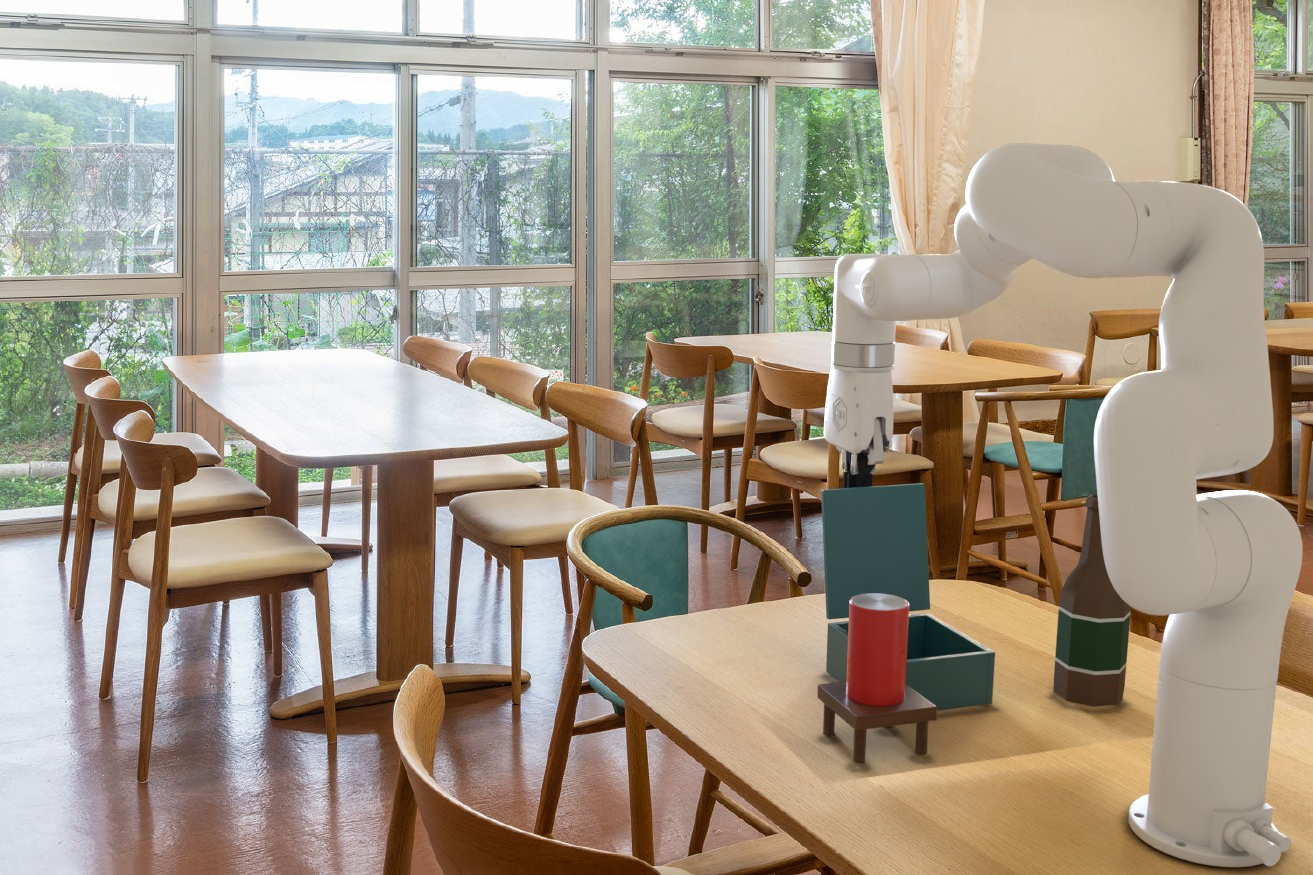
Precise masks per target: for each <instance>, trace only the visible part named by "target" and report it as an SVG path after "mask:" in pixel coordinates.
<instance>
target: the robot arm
mask: <svg viewBox="0 0 1313 875" xmlns="http://www.w3.org/2000/svg"><path fill="white" fill-rule="evenodd" d="M953 231H954V239H955V243H956V246H957V250H955V251H953V252H950V253H946V254H945V253H943V254H942V253H930V254H929V253H927V254H926V253H925V254H923V253H922V254H885V253H847V254H844V255H841V256H840V257H839V258H838V259H837V260H836V263H835V267H834V282H833V283H834V285H833V286H834V287H833V309H832V310H833V312H832V314H833V315H832V338H831V339H832V341H831V345H832V346H831V364H830V367H831V368H830V371H829V377H828V382H827V389H826V397H825V407H824V408H825V409H824V422H823V437H824V439H825V441H826V442H827V443H829V444H830V445H833V446H834V447H835V449H836V450H837V452H839V453H840V455H841V469H842V471H843V473H842V474H843V475H842V476H843V477H842V489H844V488H859V487H873V476H874V474H875V472H876V465H883V464H884V463H885V455H884V453H886V452H888V451H889V450H890V449H891V448H892V444H893V436H894V385H893V374H892V371H894V369H895V352H896V328H897V322H909V321H921V320H922V321H924V320H947V319H949V320H950V319H955V318H958V317H963V316H964V315H967V314H968V313H971V312H973V311H975V310H977V309H979V308H981V307H983V306H984V305H986V304H989V303H990V302H992V301H993V300H995V299H997V298H998V297H1000V296H1002V295H1003V293H1005V291H1007V289H1008V288H1009V286H1010V284H1011V282H1012V281H1013V279H1014V277H1015V274H1016V271H1017V269H1018V268H1019V267H1021V266H1023V265H1024V264H1026V263H1028V262H1030V261H1031V260H1033V259H1034V260H1036V261H1038V262H1040V263H1042V264H1044V265H1047V266H1048V267H1049V268H1052V269H1054V270H1056V271H1058V272H1061V273H1063V274H1065V275H1069V276H1072V277H1077V278H1082V279H1083V278H1084V279H1085V278H1086V279H1105V278H1108V279H1109V278H1110V279H1111V278H1138V277H1167V278H1170V279H1171V280H1172V282H1171V284H1170V285H1169V287H1168V290H1167V291H1166V293H1165V296H1164V299H1163V302H1162V305H1161V308H1160V313H1159V319H1158V327H1157V328H1158V339H1159V348H1160V370H1151V371H1143V372H1139V373H1135V374H1132V375H1130V376H1128V377H1125V378H1124V379H1122V380H1120V381H1119V382H1118V383H1116V384H1115V385H1114V386H1113V387H1112V388H1111V389H1110V390H1109V391H1108V392H1107V394H1106V395H1105V397H1104V398H1103V400H1102V402H1101V404H1100V407H1099V409H1098V411H1097V415H1096V418H1095V422H1094V428H1093V458H1094V459H1093V460H1094V469H1095V470H1094V471H1095V482H1096V492H1097V493H1096V494H1097V495H1098V506H1099V518H1100V530H1101V541H1102V549H1103V556H1104V562H1105V566H1106V570H1107V573H1108V576H1109V578H1110V581H1111V583H1112V585H1113V587H1114V589H1115V590H1116V592H1117V593H1118V594H1119V596H1120V597H1121V598H1122V599H1123V600H1124V601H1125V602H1126V603H1127V604H1128V605H1130V606H1131V609H1133V610H1136V611H1138V612H1141V613H1143V614H1146V615H1151V616H1168V618H1167V621H1166V624H1165V627H1164V630H1163V636H1162V641H1161V648H1160V659H1159V668H1158V680H1157V690H1156V691H1157V692H1156V701H1155V702H1156V703H1155V713H1154V714H1155V715H1154V725H1153V736H1152V737H1153V738H1152V750H1151V762H1150V773H1149V785H1148V786H1149V787H1148V793H1146V794H1144V795H1142V796H1140V797H1138V798H1137V799H1134V800H1133V802H1131V803H1130V806H1129V810H1128V824H1129V827H1130V829H1131V830H1132V831H1133V832H1134V834H1135V835H1136V836H1137V837H1138V838H1139V839H1140V840H1142V841H1143V842H1144V843H1146V844H1147V845H1148V846H1150V847H1152V848H1154V849H1156V850H1158V851H1160V852H1161V853H1164V854H1166V855H1169V856H1171V857H1174V858H1178V859H1180V860H1183V861H1187V862H1190V863H1194V864H1199V865H1203V866H1204V865H1205V866H1211V867H1220V868H1246V867H1247V868H1248V867H1255V866H1258V865H1262V864H1263V865H1265V867H1273V866H1276V865H1277V864H1278V862H1279V861H1280V860H1281V857H1282V853H1286V852H1288V851H1289V850H1290V849H1291V846H1292V839H1291V838H1290V837H1289V836H1288V835H1286V834H1284V833H1282V832H1280V831H1279V829H1278V828H1277V827H1276V825H1275V823H1273V816H1274V815H1273V814H1274V806H1272V805H1271V804H1268V803H1267V802H1265V800H1266V789H1267V780H1268V772H1269V771H1268V770H1269V761H1270V760H1269V759H1270V751H1271V750H1270V749H1271V740H1272V730H1273V722H1274V721H1273V720H1274V712H1275V703H1276V702H1275V701H1276V693H1277V691H1276V690H1277V682H1278V679H1279V669H1280V660H1281V653H1282V646H1283V645H1282V644H1283V638H1284V632H1285V626H1286V622H1287V617H1288V613H1289V610H1290V606H1291V603H1292V600H1293V597H1294V594H1295V591H1296V587H1297V584H1298V581H1299V578H1300V574H1301V569H1302V566H1303V552H1304V551H1303V550H1304V549H1303V539H1302V534H1301V531H1300V528H1299V526H1298V524H1297V522H1296V519H1295V518H1294V517H1293V515H1292V514H1291V513H1290V511H1289V510H1288V509H1287V508H1286V507H1285V506H1284V505H1283V504H1281V503H1280V502H1279V501H1277V500H1276V499H1274V498H1272V497H1270V496H1267V495H1266V494H1263V493H1259V492H1256V491H1250V490H1242V489H1234V490H1232V489H1231V490H1229V489H1228V490H1221V491H1213V492H1212V491H1211V492H1205V493H1199V494H1198V487H1197V480H1202V479H1208V478H1209V479H1210V478H1217V477H1221V476H1223V477H1224V476H1229V475H1234V474H1238V473H1242V472H1245V471H1248V470H1251V469H1252V468H1254V467H1256V466H1258V465H1260V463H1262V461H1264V460H1265V459H1266V457H1267V456H1268V455H1269V453H1270V451H1271V449H1272V446H1273V442H1274V431H1275V430H1274V427H1275V426H1274V424H1275V423H1274V422H1275V421H1274V419H1275V418H1274V408H1273V407H1274V406H1273V396H1272V381H1271V369H1270V360H1269V346H1268V336H1267V328H1266V321H1265V299H1264V298H1265V297H1264V296H1265V293H1264V292H1265V291H1264V290H1265V289H1264V288H1265V286H1264V285H1265V248H1264V242H1263V237H1262V233H1261V230H1260V227H1259V224H1258V222H1257V220H1256V218H1255V217H1254V215H1253V214H1252V212H1251V211H1250V209H1249V208H1248V207H1247V206H1246V205H1245V204H1244V203H1243V202H1242V201H1241V200H1240V199H1238V198H1237V197H1235V196H1234V195H1232V194H1230V193H1229V192H1227V191H1224V190H1222V189H1219V188H1216V187H1213V186H1209V185H1205V184H1199V183H1193V182H1185V181H1184V182H1183V181H1171V180H1170V181H1167V180H1115V179H1114V175H1113V172H1112V170H1111V168H1110V167H1109V164H1108V163H1107V162H1106V161H1105V160H1104V159H1103V157H1101V156H1100V155H1099V154H1097V153H1095V152H1093V151H1092V150H1091V149H1088V148H1085V147H1080V146H1077V145H1072V144H1071V145H1070V144H1048V143H1029V142H1028V143H1027V142H1026V143H1025V142H1015V143H1014V142H1013V143H1005V144H1002V145H998V146H996V147H994V148H992V149H990V150H989V151H987V152H986V153H984V154H983V156H981V157H980V158H979V160H978V161H977V162H976V163H975V164H974V165H973V167H972V169H971V171H970V173H969V175H968V178H967V181H966V186H965V204H964V205H963V206H962V207H961V208H960V210H959V211H958V213H957V215H956V218H955V221H954V228H953Z"/></svg>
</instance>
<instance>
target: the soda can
mask: <svg viewBox="0 0 1313 875" xmlns="http://www.w3.org/2000/svg"><path fill="white" fill-rule="evenodd" d="M909 615H910V612H909V602H908V601H907V600H905V599H903V598H901V597H898V596H894V595H889V594H880V593H868V594H860V595H856V596H854V597H852V598H851V599H850V602H849V618H848V621H849V628H848V654H847V681H846V694H847V696H848V697H849V698H850V699H852V700H854V701H856V702H859V703H862V704H866V705H873V706H888V705H894V704H898V703H900V702H902V701H903V700H904V698H905V685H906V664H907V643H908V621H909Z"/></svg>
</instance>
